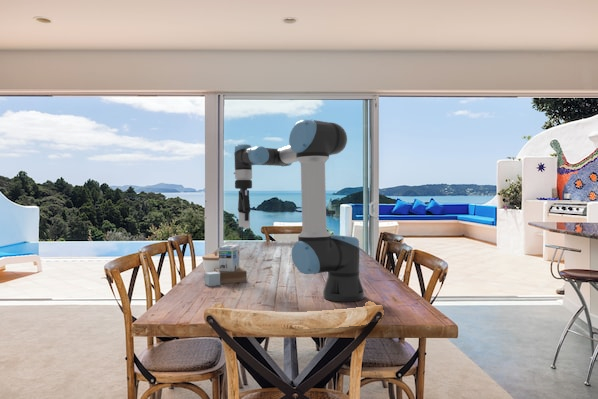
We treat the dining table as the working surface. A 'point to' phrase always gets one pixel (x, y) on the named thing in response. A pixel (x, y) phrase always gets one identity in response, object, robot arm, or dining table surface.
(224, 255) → the light bulb box
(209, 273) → the slate cube
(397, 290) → the dining table surface
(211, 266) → the lidded bowl
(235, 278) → the walnut block
